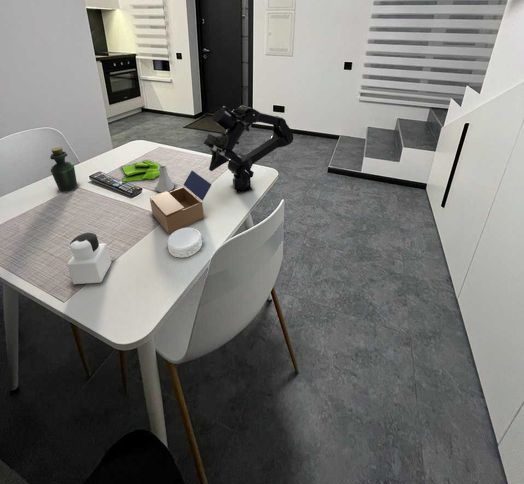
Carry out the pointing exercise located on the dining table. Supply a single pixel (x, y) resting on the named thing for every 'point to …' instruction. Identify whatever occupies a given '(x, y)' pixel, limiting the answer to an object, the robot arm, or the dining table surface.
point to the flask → (164, 180)
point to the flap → (197, 185)
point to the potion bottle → (63, 170)
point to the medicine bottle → (88, 259)
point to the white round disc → (184, 242)
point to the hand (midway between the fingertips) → (210, 170)
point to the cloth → (141, 171)
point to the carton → (176, 209)
